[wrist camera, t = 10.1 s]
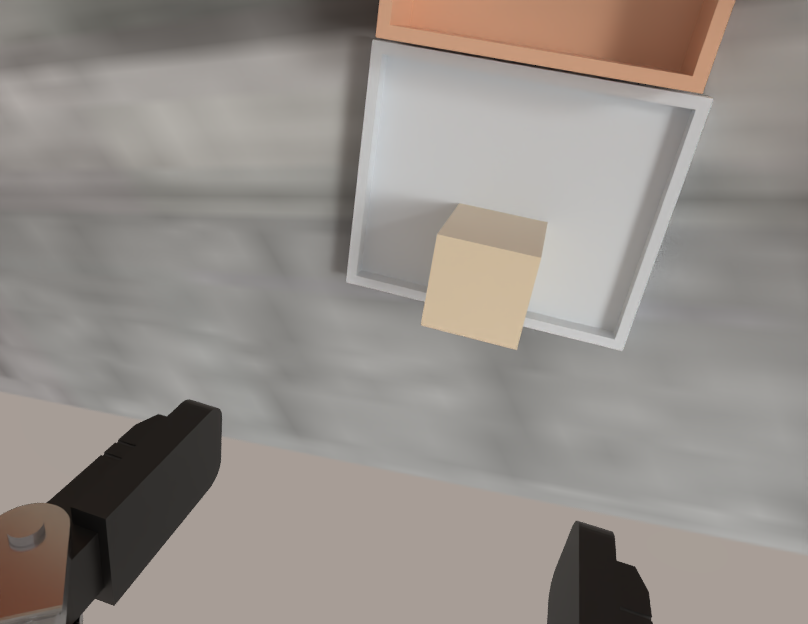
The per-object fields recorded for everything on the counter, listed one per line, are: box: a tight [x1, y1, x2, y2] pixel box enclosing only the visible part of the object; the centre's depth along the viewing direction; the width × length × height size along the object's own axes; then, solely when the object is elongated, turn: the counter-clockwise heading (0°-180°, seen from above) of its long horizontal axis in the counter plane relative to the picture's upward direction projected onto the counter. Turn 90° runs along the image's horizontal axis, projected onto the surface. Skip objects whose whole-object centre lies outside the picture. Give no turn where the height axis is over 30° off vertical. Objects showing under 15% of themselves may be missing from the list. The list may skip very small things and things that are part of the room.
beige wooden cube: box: [421, 203, 548, 350], centre depth 27 cm, size 4×4×5 cm
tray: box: [346, 39, 714, 351], centre depth 27 cm, size 14×12×1 cm
